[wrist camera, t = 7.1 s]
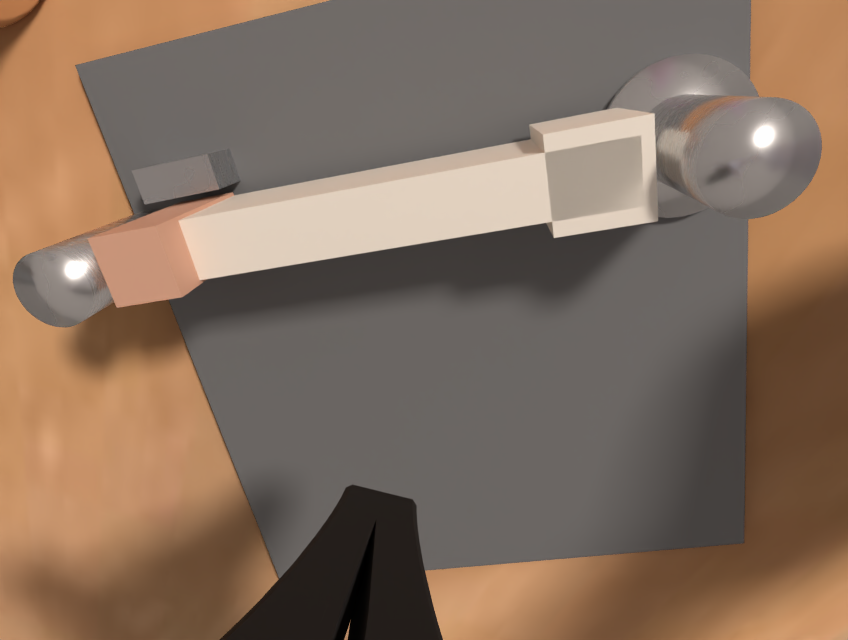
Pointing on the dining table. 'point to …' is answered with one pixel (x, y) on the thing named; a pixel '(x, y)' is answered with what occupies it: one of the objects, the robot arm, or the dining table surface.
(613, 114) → the gate
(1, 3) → the beer glass
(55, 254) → the post
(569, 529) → the mat
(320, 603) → the robot arm
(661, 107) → the post
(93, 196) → the dining table surface
